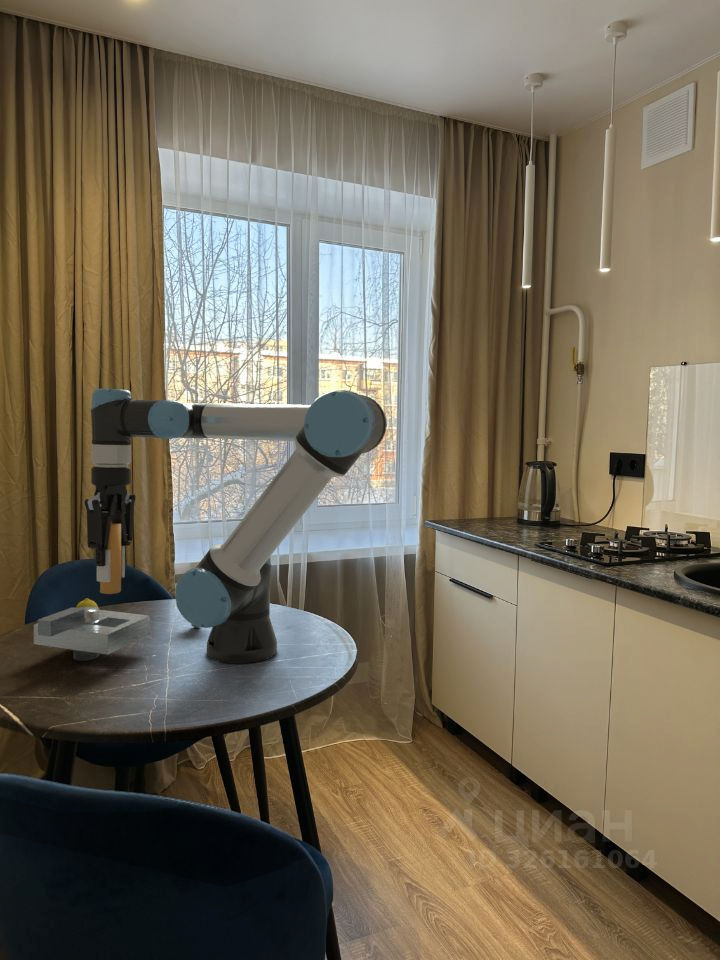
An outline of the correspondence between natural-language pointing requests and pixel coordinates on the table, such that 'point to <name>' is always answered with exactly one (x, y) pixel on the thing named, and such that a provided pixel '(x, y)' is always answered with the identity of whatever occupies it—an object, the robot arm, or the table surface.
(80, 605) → the lemon
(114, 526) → the pin
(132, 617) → the gray rectangular tray
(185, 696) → the table surface
